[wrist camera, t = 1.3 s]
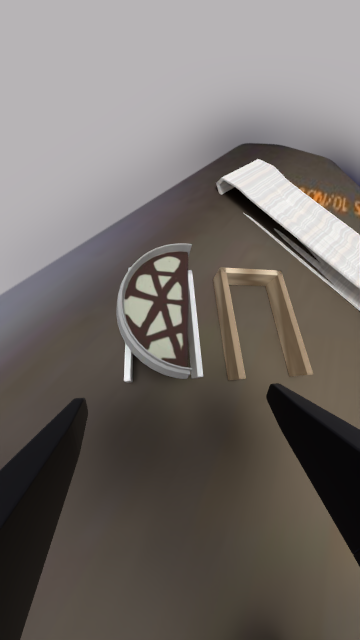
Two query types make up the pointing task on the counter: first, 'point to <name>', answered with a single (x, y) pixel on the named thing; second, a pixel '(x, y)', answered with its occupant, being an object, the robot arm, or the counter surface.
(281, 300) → the tan wooden u-shaped piece
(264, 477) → the counter surface
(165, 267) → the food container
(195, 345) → the white frame
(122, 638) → the counter surface
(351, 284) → the long white curved panel
